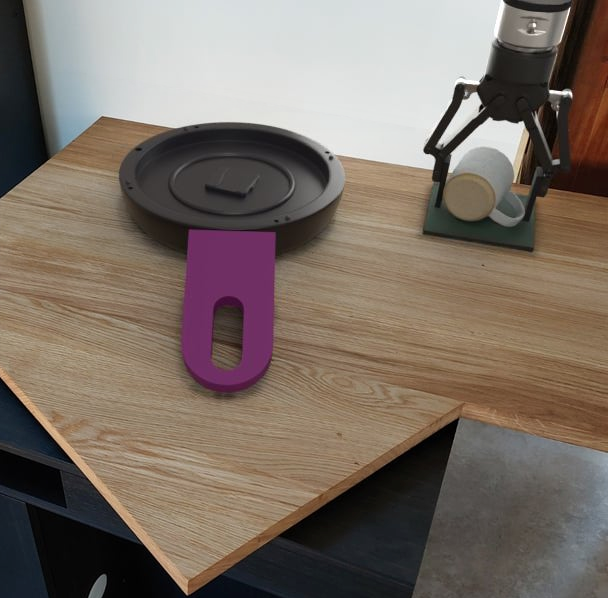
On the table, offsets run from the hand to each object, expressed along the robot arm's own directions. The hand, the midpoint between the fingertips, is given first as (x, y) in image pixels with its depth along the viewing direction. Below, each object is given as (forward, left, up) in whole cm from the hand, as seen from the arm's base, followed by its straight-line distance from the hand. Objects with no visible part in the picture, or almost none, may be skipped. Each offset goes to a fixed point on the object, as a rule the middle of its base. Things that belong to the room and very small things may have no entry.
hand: (481, 209), depth 105 cm
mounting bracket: (+25, +36, -1) cm, 44 cm away
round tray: (+33, +8, -1) cm, 34 cm away
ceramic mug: (0, 0, -1) cm, 1 cm away
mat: (0, 0, -1) cm, 1 cm away
